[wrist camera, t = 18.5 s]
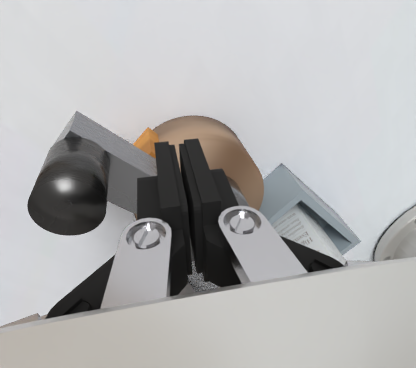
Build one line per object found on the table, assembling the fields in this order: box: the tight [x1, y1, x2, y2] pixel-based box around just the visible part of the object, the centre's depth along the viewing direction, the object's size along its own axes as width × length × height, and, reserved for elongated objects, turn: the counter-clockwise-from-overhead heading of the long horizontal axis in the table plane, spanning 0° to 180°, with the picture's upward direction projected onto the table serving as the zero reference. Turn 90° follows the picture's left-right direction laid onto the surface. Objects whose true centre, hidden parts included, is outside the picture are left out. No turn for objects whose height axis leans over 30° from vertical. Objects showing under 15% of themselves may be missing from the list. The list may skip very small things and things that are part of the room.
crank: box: [28, 111, 249, 261], centre depth 14 cm, size 11×5×5 cm, turn 48°
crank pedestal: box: [133, 116, 264, 221], centre depth 20 cm, size 9×8×4 cm
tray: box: [259, 164, 361, 255], centre depth 25 cm, size 9×9×4 cm
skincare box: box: [271, 203, 346, 264], centre depth 21 cm, size 6×4×12 cm
